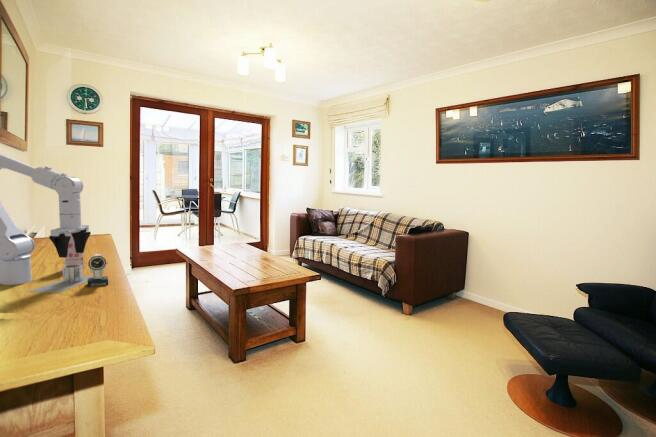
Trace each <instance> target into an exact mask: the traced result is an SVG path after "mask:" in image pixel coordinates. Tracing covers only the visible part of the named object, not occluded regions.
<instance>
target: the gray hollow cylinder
mask: <svg viewBox="0 0 656 437" xmlns="http://www.w3.org/2000/svg"><path fill="white" fill-rule="evenodd" d="M83 271H84V270H83V267H82V265H81V264H73V265H66V266H65V265H64V266H62V280H63V282H64V283H74V282H80V281H82V280H83V276H84V273H83Z"/></svg>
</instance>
